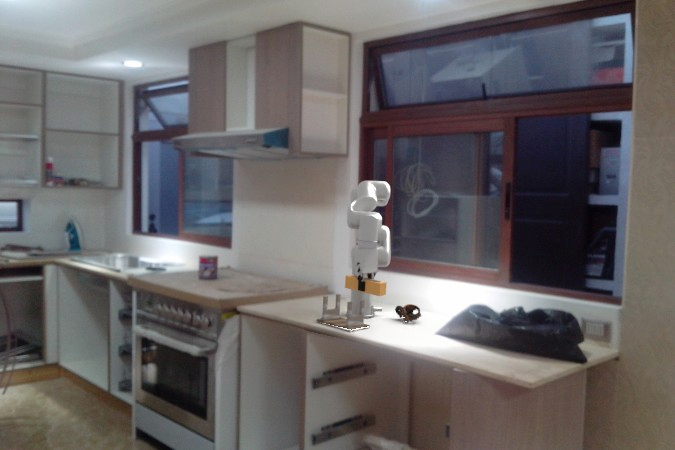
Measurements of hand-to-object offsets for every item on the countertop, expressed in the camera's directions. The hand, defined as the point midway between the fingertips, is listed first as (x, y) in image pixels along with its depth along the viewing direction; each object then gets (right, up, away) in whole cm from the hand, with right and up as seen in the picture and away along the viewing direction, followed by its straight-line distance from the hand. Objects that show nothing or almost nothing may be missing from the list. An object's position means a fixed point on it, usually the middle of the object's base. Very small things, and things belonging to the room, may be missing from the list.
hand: (365, 289), depth 256 cm
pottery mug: (+19, -16, +23) cm, 34 cm away
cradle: (-9, -16, +9) cm, 20 cm away
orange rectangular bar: (0, -1, 0) cm, 1 cm away
